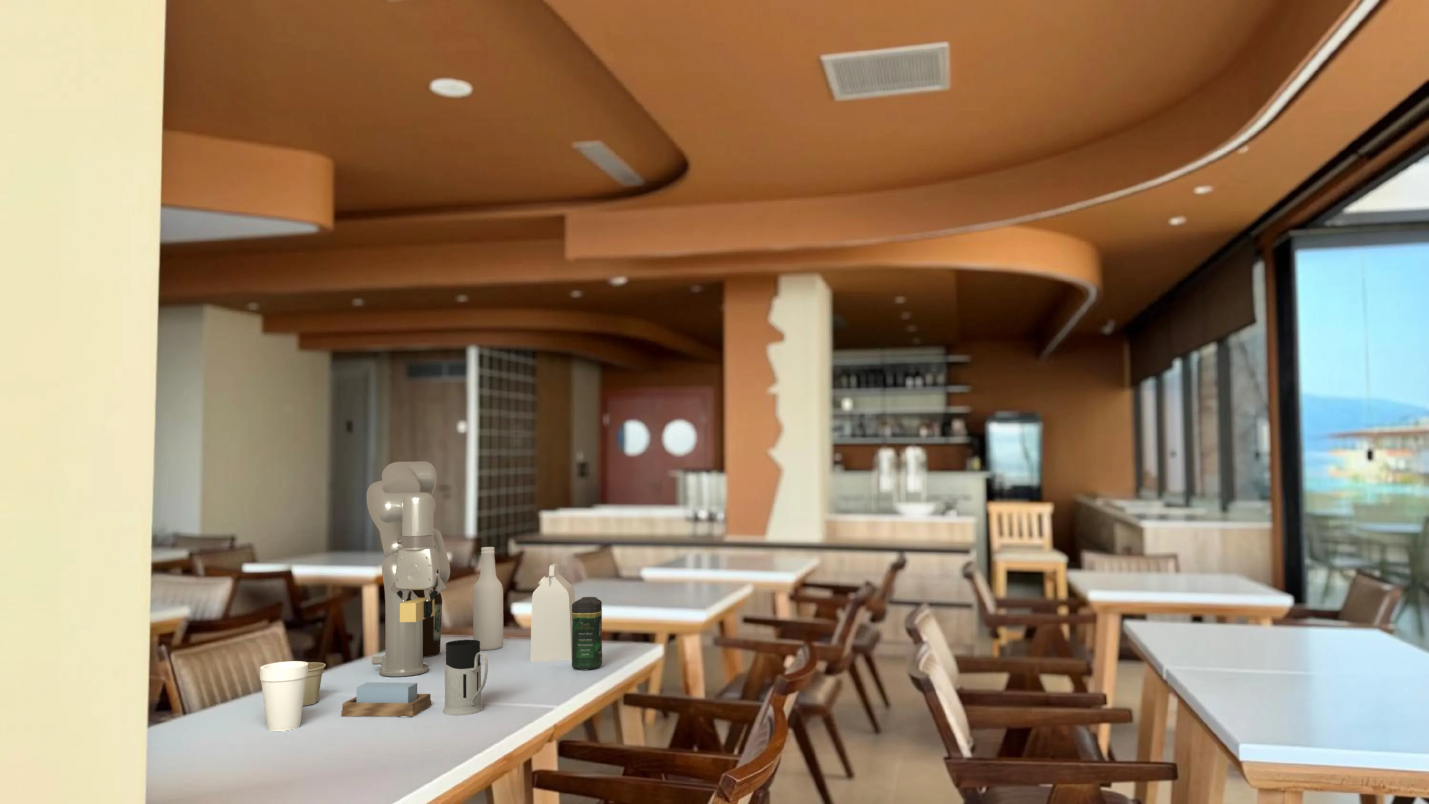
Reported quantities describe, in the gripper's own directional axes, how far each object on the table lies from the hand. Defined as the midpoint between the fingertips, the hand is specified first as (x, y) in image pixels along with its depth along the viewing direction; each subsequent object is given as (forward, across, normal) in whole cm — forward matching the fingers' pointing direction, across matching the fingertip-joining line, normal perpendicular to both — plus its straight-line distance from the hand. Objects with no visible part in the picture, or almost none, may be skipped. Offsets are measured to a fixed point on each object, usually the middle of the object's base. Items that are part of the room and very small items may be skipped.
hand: (418, 616), depth 249 cm
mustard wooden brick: (0, 0, 0) cm, 1 cm away
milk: (+17, +23, +41) cm, 50 cm away
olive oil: (+17, -16, +44) cm, 50 cm away
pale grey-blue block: (+17, +2, -22) cm, 28 cm away
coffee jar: (+18, +36, +26) cm, 48 cm away
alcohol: (+17, 0, +54) cm, 57 cm away
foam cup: (+18, -14, -37) cm, 44 cm away
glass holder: (+18, +21, -23) cm, 36 cm away
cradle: (+18, +2, -22) cm, 28 cm away
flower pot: (+18, -21, -16) cm, 32 cm away
